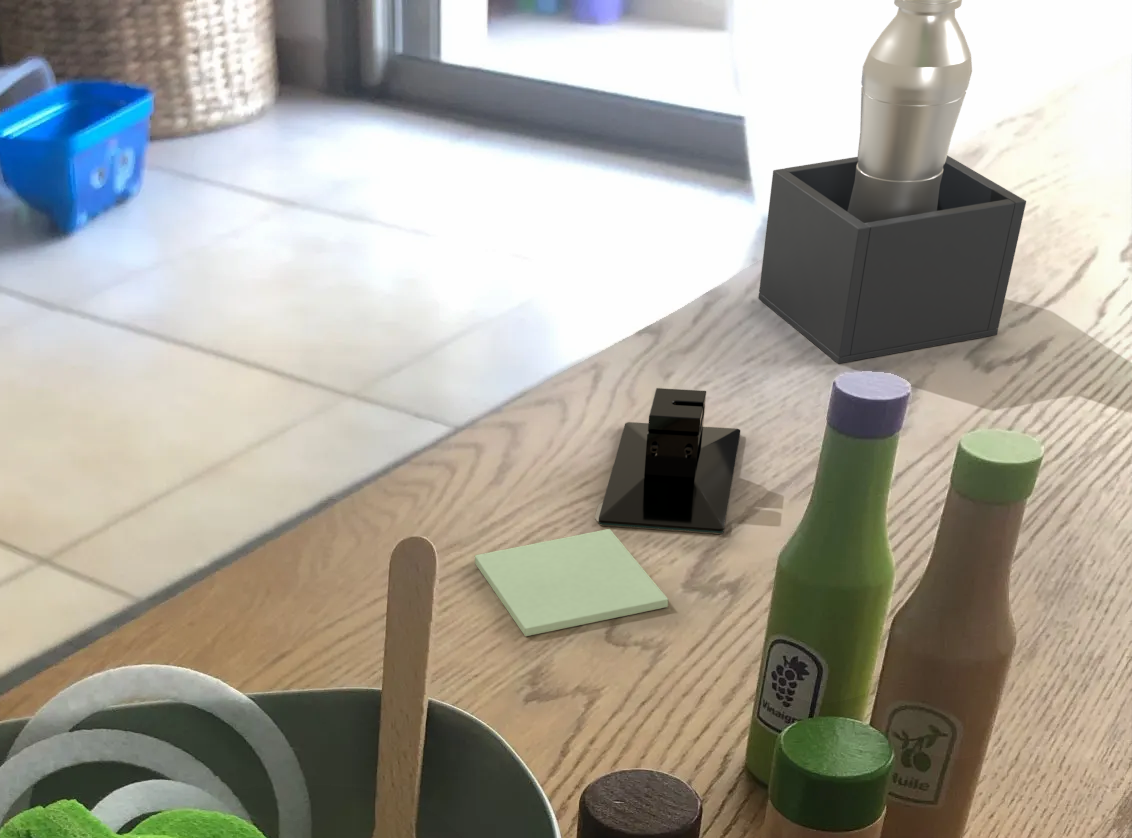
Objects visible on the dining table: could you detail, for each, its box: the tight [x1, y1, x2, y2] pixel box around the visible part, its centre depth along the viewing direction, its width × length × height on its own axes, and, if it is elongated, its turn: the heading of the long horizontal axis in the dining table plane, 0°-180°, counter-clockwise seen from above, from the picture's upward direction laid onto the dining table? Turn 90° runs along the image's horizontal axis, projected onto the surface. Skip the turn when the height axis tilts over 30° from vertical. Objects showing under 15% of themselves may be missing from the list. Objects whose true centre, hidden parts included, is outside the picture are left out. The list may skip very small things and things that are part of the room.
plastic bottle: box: [848, 0, 973, 223], centre depth 103 cm, size 6×7×20 cm
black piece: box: [594, 387, 741, 535], centre depth 94 cm, size 12×7×5 cm, turn 167°
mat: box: [474, 528, 669, 637], centre depth 87 cm, size 8×8×1 cm
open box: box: [757, 154, 1027, 364], centre depth 108 cm, size 12×12×8 cm
